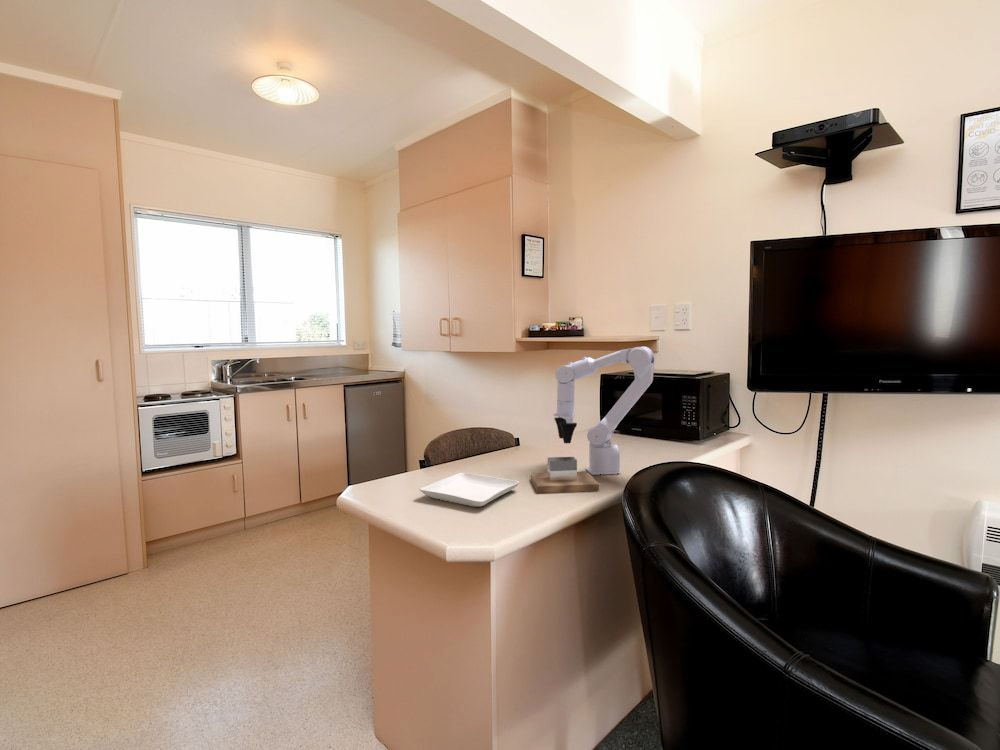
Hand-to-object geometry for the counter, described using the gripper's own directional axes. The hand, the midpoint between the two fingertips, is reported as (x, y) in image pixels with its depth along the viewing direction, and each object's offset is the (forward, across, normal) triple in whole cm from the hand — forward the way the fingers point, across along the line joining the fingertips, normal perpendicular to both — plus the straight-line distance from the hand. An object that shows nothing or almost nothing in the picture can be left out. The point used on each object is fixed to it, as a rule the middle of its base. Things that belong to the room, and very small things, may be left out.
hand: (564, 440), depth 168 cm
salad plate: (+10, +26, -32) cm, 42 cm away
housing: (+7, +20, -5) cm, 21 cm away
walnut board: (+9, +20, -4) cm, 22 cm away
